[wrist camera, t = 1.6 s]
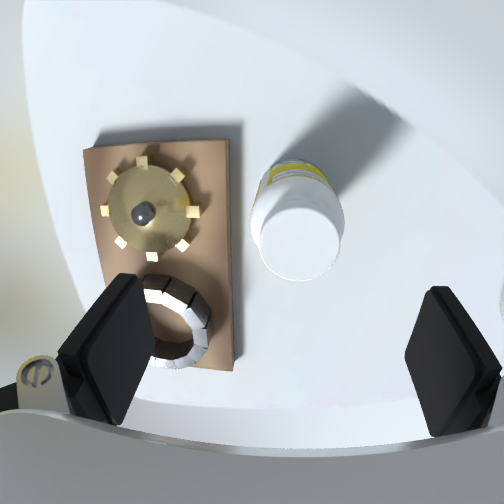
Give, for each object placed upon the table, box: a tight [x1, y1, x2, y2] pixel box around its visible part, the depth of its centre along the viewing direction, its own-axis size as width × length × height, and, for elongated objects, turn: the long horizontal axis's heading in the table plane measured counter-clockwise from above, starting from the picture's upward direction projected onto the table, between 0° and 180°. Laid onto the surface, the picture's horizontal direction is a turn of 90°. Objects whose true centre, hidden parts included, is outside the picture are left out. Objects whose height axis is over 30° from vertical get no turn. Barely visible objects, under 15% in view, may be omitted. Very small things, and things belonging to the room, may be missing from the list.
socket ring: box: [138, 274, 214, 369], centre depth 28 cm, size 9×9×2 cm
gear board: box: [83, 139, 235, 371], centre depth 27 cm, size 12×22×2 cm, turn 0°
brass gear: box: [100, 154, 203, 261], centre depth 23 cm, size 8×8×2 cm
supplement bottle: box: [250, 159, 344, 281], centre depth 20 cm, size 5×5×10 cm
